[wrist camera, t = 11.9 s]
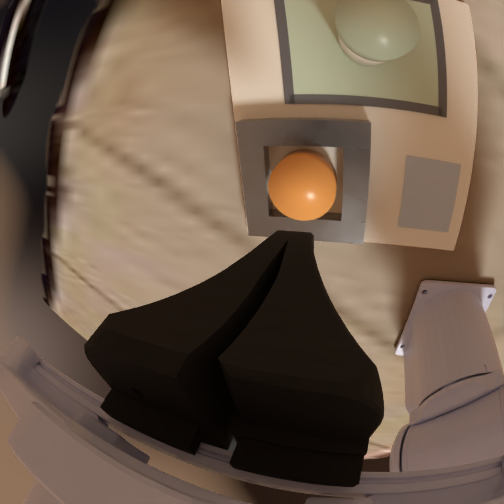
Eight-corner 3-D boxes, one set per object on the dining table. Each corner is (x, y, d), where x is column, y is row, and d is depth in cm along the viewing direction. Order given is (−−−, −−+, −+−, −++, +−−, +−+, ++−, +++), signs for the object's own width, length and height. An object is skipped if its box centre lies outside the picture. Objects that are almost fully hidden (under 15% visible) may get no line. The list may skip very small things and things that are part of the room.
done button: (335, 209, 18) (334, 222, 16) (277, 205, 19) (270, 218, 18) (337, 150, 16) (336, 158, 14) (273, 148, 17) (265, 156, 15)
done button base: (362, 235, 19) (362, 244, 18) (253, 227, 21) (248, 235, 20) (369, 120, 14) (371, 122, 13) (241, 119, 17) (235, 122, 16)
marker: (395, 71, 12) (423, 64, 7) (339, 66, 13) (338, 54, 8) (390, 20, 10) (413, -9, 5) (334, 16, 11) (329, -18, 6)
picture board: (452, 247, 17) (454, 251, 17) (249, 230, 22) (247, 233, 21) (466, 5, 7) (469, 3, 7) (222, -6, 12) (219, -8, 12)
